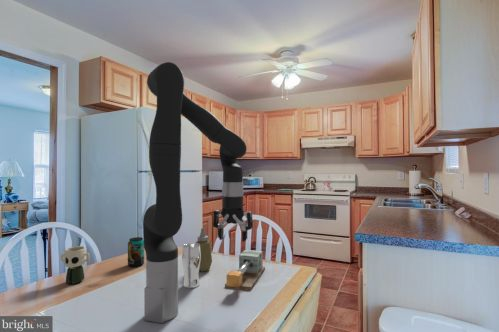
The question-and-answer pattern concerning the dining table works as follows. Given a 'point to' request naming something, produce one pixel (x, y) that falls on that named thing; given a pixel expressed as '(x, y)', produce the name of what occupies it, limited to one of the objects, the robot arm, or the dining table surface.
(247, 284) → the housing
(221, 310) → the dining table surface
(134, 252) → the beverage can
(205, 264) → the squeeze bottle
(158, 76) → the robot arm
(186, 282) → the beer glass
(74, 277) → the character mug
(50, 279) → the dining table surface
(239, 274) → the shaft
